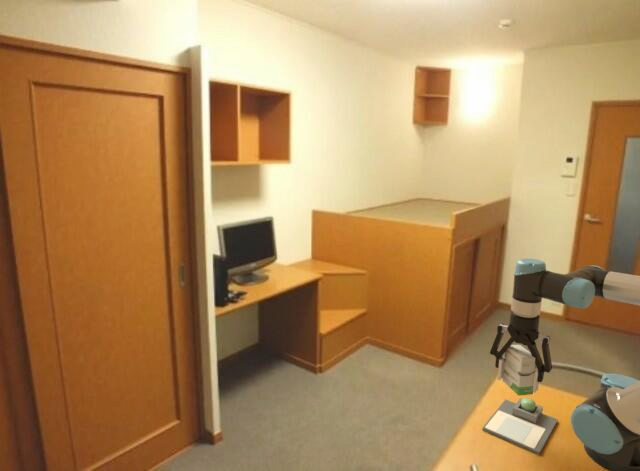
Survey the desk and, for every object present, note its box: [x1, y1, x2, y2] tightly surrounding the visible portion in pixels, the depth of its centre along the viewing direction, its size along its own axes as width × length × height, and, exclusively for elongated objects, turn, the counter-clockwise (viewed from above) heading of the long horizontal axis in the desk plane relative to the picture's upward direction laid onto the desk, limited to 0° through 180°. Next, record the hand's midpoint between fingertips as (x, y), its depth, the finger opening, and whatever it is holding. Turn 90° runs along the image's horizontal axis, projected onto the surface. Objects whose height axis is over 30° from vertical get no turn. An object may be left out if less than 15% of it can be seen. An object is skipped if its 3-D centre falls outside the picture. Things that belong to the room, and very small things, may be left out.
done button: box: [521, 397, 537, 413], centre depth 136 cm, size 4×4×3 cm
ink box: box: [501, 344, 537, 396], centre depth 125 cm, size 9×5×12 cm, turn 8°
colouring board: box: [482, 398, 559, 456], centre depth 131 cm, size 16×20×3 cm
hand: (517, 384), depth 126 cm, fingers closed on ink box, 9 cm apart
